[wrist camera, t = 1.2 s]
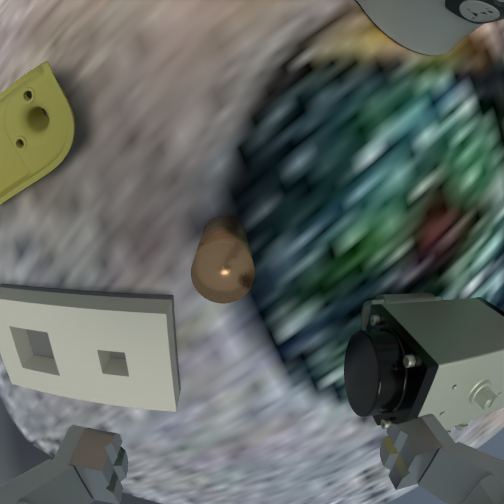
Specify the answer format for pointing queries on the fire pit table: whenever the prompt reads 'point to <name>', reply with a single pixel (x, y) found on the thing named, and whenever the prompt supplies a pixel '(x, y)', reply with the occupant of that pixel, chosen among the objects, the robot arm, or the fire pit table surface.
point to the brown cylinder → (223, 261)
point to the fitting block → (91, 345)
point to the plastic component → (33, 130)
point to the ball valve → (426, 360)
